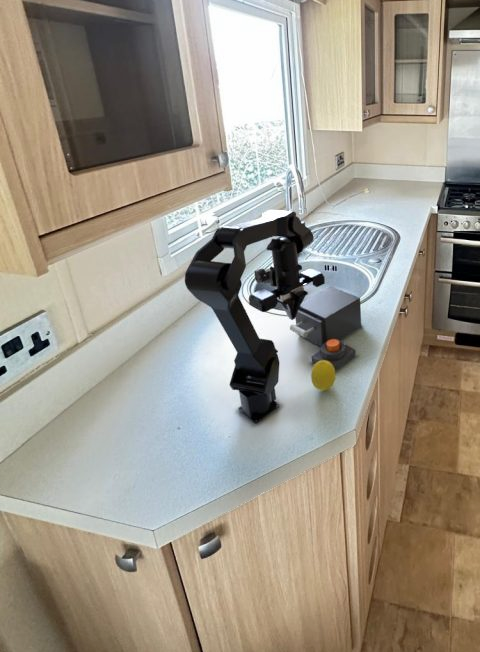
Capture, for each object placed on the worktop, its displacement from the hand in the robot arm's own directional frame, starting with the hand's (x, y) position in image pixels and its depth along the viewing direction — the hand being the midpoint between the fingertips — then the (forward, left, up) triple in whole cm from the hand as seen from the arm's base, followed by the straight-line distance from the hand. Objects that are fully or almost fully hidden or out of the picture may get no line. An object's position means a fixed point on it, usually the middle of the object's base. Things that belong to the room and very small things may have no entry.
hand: (292, 318), depth 102 cm
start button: (+5, -8, -8) cm, 13 cm away
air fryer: (+14, +2, -12) cm, 19 cm away
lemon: (-4, -14, -12) cm, 19 cm away
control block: (+5, -8, -12) cm, 15 cm away
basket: (+11, +2, -11) cm, 15 cm away
